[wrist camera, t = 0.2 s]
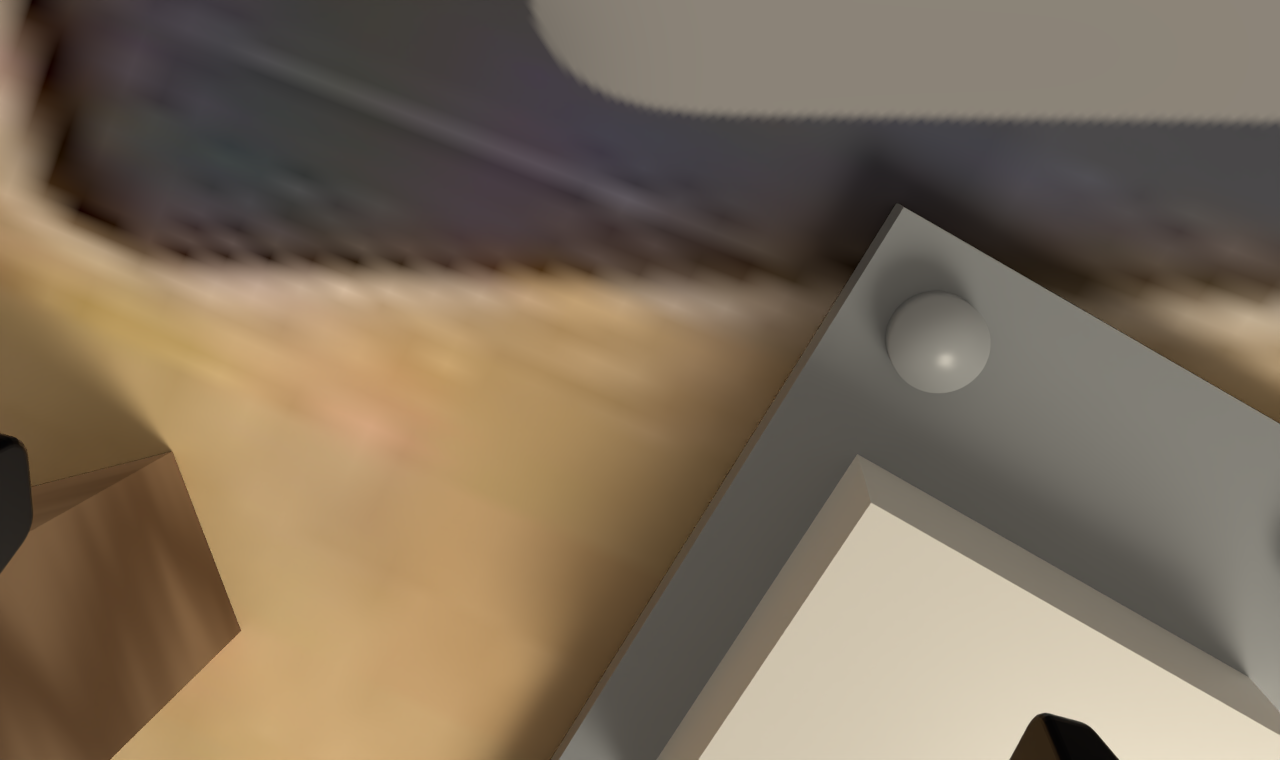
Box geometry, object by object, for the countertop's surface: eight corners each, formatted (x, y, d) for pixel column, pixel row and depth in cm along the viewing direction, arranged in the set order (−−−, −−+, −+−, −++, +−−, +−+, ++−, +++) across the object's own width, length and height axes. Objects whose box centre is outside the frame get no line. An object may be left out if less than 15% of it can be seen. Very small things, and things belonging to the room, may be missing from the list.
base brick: (939, 1113, 28) (969, 1279, 24) (486, 862, 28) (440, 988, 24) (1448, 520, 23) (1594, 606, 19) (896, 202, 23) (925, 220, 19)
